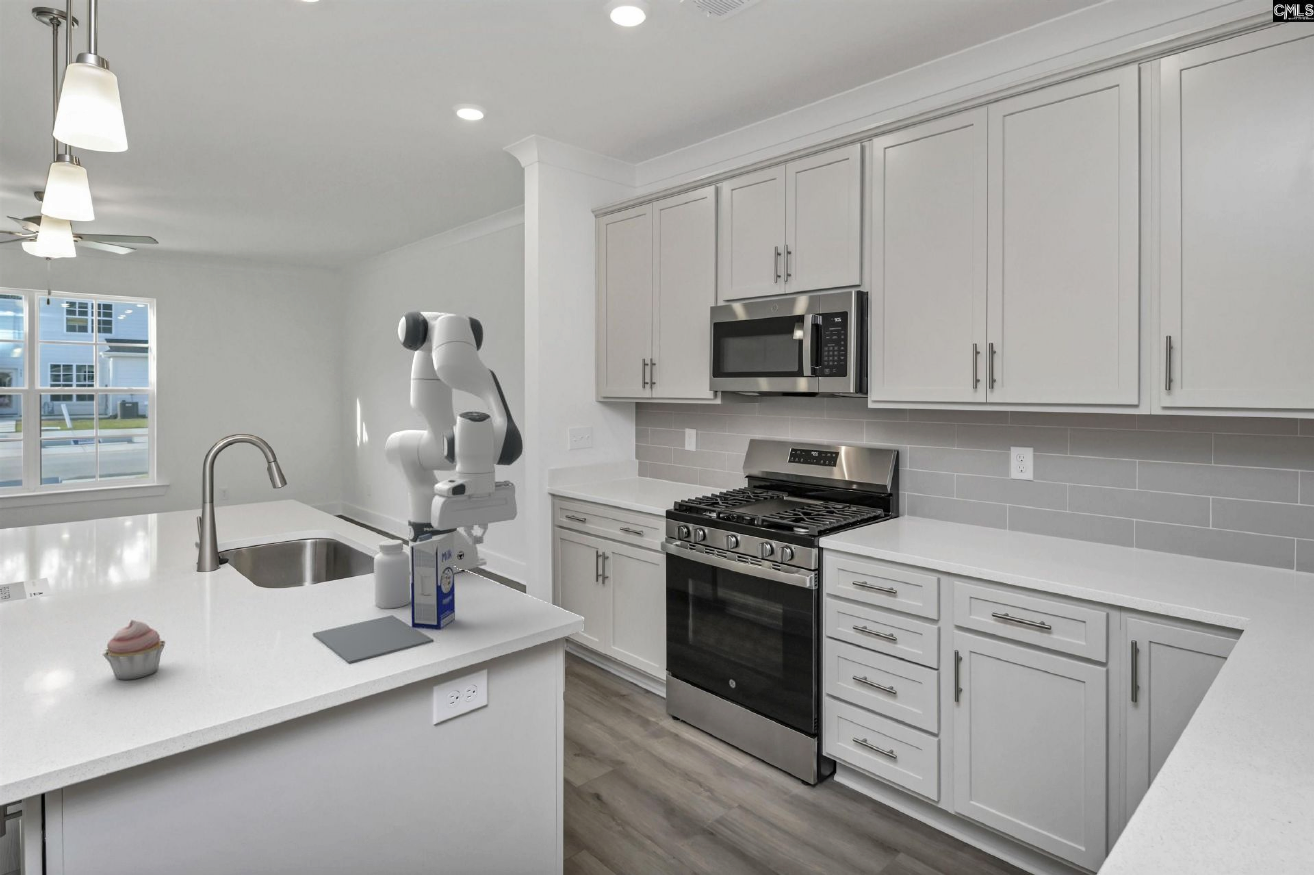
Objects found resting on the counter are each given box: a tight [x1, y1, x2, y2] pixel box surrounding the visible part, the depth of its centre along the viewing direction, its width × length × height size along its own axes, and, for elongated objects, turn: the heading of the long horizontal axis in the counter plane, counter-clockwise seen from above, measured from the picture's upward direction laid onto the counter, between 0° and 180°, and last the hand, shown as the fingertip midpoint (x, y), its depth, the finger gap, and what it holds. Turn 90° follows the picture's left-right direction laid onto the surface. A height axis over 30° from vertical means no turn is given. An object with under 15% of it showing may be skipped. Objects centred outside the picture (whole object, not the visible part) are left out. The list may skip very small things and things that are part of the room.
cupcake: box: [102, 619, 167, 681], centre depth 129 cm, size 9×9×10 cm
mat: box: [312, 614, 434, 664], centre depth 148 cm, size 17×20×1 cm
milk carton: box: [410, 533, 456, 631], centre depth 156 cm, size 7×7×20 cm
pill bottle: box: [373, 539, 411, 609], centre depth 170 cm, size 8×8×15 cm
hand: (475, 543), depth 163 cm, fingers closed
